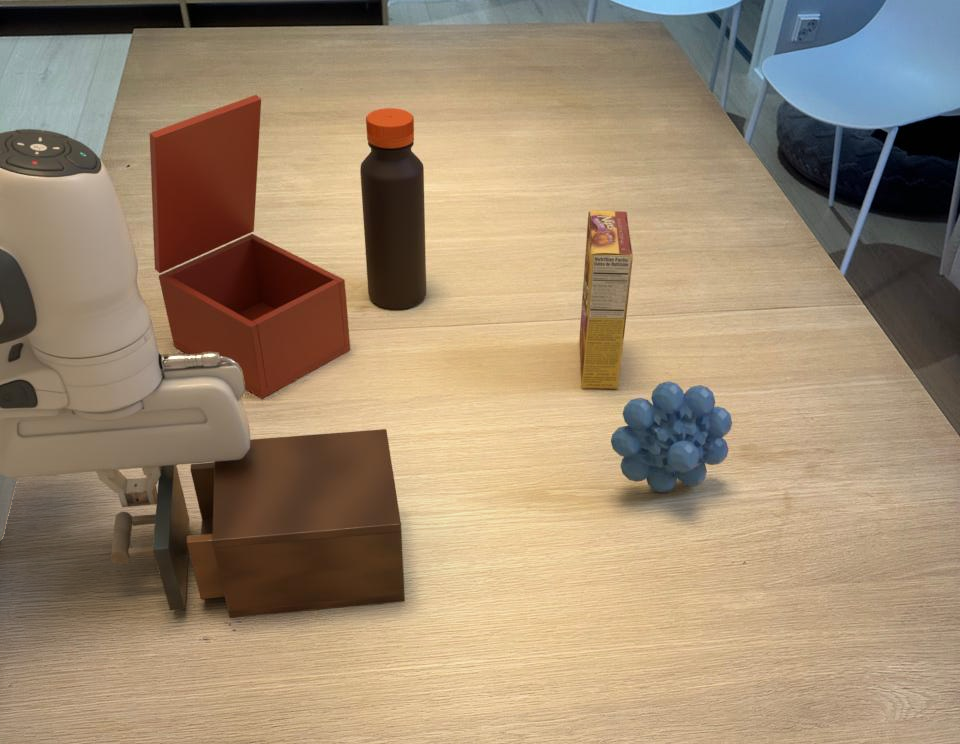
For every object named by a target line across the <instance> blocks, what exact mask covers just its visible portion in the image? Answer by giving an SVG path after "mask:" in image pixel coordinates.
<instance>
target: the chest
mask: <svg viewBox="0 0 960 744" xmlns="http://www.w3.org/2000/svg"><path fill="white" fill-rule="evenodd" d="M158 280H159V285H160V290H161V294H162V297H163V302H164V307H165V312H166V317H167V320H168V326H169V330H170V334H171V339H172V344H173V347H175V348H176V349H178V350H179V351H181V352H183V353H184V354H199V353H202V352H209V351H212V352H219V353H220V356H225V357H228V358H231V359H233V360H234V361H235V362H237V363H238V364H239V366H240V367H241V369H242V371H243V376H244V382H245V390H247V391H248V392H250V393H252V394H254V395H255V396H257V397H259V398H260V399H265V398H266V397H268V396H270V395H272V394H274V393H275V392H278V391H279V390H281V389H283V388H284V387H286V386H288V385H290V384H291V383H293V382H296V381H297V380H299V379H301V378H303V377H304V376H306V375H308V374H310V373H311V372H313V371H315V370H316V369H319V368H320V367H322V366H324V365H326V364H328V363H329V362H331V361H332V360H335V359H336V358H338V357H340V356H342V355H344V354H345V353H347V352H349V351H351V341H350V339H351V338H350V329H349V317H348V305H347V292H346V291H347V290H346V282H345V281H346V280H345V279H344V278H342V277H341V276H338V275H336V274H334V273H332V272H330V271H328V270H326V269H324V268H322V267H320V266H319V265H316V264H314V263H312V262H310V261H308V260H306V259H304V258H302V257H300V256H298V255H296V254H294V253H292V252H290V251H288V250H286V249H284V248H282V247H280V246H278V245H276V244H274V243H271V242H269V241H268V240H266V239H265V238H262V237H260V236H258V235H255V234H254V233H249V234H247V235H245V236H243V237H241V238H238V239H236V240H234V241H232V242H229V243H227V244H225V245H223V246H220V247H218V248H216V249H214V250H211V251H209V252H207V253H205V254H203V255H200V256H198V257H196V258H194V259H191V260H189V261H187V262H185V263H182V264H180V265H178V266H176V267H174V268H171V269H169V270H167V271H165V272H162V273H160V274H159V275H158ZM221 363H223V362H222V361H221Z"/></svg>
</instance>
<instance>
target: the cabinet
mask: <svg viewBox="0 0 960 744" xmlns="http://www.w3.org/2000/svg"><path fill="white" fill-rule="evenodd" d="M212 542H213V546H214V551H215V555H216V560H217V564H218V569H219V573H220V577H221V582H222V586H223V591H224V595H225V597H224V599H225V603H226V609H227V612H228V616H229V617H228V618H239V617H240V618H241V617H250V616H261V615H271V614H281V613H291V612H302V611H303V612H304V611H311V610H312V611H314V610H323V609H325V610H326V609H334V608H344V607H345V608H347V607H356V606H365V605H366V606H367V605H377V604H385V603H388V604H389V603H397V602H405V601H406V597H405V595H406V594H405V577H404V576H405V574H404V557H403V555H404V554H403V535H402V522H401V515H400V509H399V503H398V496H397V489H396V482H395V475H394V470H393V462H392V455H391V450H390V444H389V436H388V430H387V428H383V429H371V430H369V429H368V430H356V431H341V432H331V433H329V432H328V433H318V434H305V435H292V436H291V435H289V436H280V437H266V438H265V437H264V438H252V439H251V438H250V449H249V450H248V452H247V453H246V455H245V456H244V457H243V458H242V459H239V460H230V461H217V462H214V496H213V532H212Z"/></svg>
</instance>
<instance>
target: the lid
mask: <svg viewBox="0 0 960 744" xmlns="http://www.w3.org/2000/svg"><path fill="white" fill-rule="evenodd" d="M261 110H262V98H261V97H259V96H258V94H254V95H251V96H248V97H246V98H243V99H239V100H237V101H234V102H232V103H229V104H226V105H223V106H220V107H218V108H215V109H213V110H209V111H207V112H204V113H201V114H198V115H196V116H193V117H190V118H188V119H184V120H181V121H179V122H176V123H173V124H170V125H167V126H165V127H162V128H159V129H156V130H154V131H150V132H149V151H150V152H149V153H150V177H151V178H150V180H151V181H150V182H151V201H152V202H151V204H152V205H151V207H152V231H153V256H154V257H153V258H154V259H153V260H154V270H155V271H156V272H157V273H158V274H163V273H165V272H167V271H170V270H172V269H174V268H176V267H178V266H181V265H183V264H185V263H187V262H190V261H192V260H194V259H196V258H199V257H201V256H203V255H205V254H208V253H210V252H212V251H214V250H216V249H219V248H221V247H223V246H225V245H228V244H230V243H232V242H234V241H237V240H239V239H241V238H243V237H246V236H248V235H250V234H252V233H253V232H255V220H256V217H255V216H256V200H257V182H258V164H259V149H260V148H259V147H260V132H261V131H260V130H261V129H260V128H261V113H262V111H261Z"/></svg>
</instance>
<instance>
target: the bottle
mask: <svg viewBox="0 0 960 744" xmlns="http://www.w3.org/2000/svg"><path fill="white" fill-rule="evenodd" d="M365 125H366V126H365V127H366V140H367V145H368V147H369V148H370V153H368V155H367V156H366V157H365V158H364V159H363V161H362V162H361V163H360V170H359V174H360V188H361V203H362V218H363V219H362V220H363V231H364V234H363V236H364V247H365V249H364V250H365V263H366V277H367V279H366V280H367V294H368V297H369V299H370V301H371V302H372V303H374V304H376V305H377V306H378V307H380V308H381V307H382V308H384V309H390V310H405V309H411V308H413V307H416V306H417V305H419V304H420V303H421V302H423V301H424V300H425V298H426V296H427V262H426V260H427V259H426V258H427V256H426V218H425V217H426V216H425V215H426V214H425V209H426V208H425V176H424V175H425V172H424V163H423V162H422V161H421V159H420V158H419V157H418V156H417V155H416V154H415V153H414V152H413V151H412V148H413V146H414V144H415V143H414V140H415V118H414V115H413V114H412V113H411V112H409V111H407V110H405V109H401V108H395V107H385V108H380V109H375V110H373V111H370V112H369V113H368V114H367V115H366V116H365Z"/></svg>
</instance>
